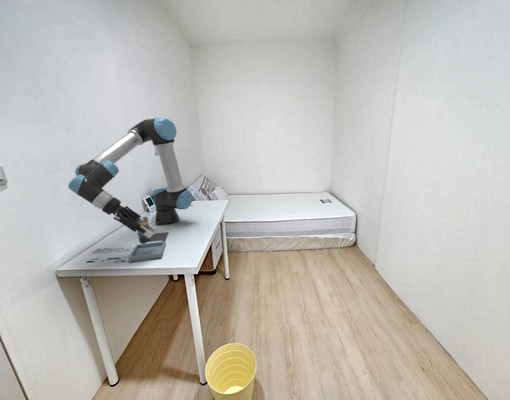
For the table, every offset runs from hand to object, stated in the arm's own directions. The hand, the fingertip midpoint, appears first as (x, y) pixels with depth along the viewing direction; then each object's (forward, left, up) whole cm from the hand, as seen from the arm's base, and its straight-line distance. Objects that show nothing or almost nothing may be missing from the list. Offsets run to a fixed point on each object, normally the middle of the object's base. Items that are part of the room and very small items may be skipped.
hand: (152, 233), depth 110 cm
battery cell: (0, -4, -3) cm, 5 cm away
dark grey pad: (-17, -3, -10) cm, 20 cm away
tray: (0, -3, -10) cm, 11 cm away
